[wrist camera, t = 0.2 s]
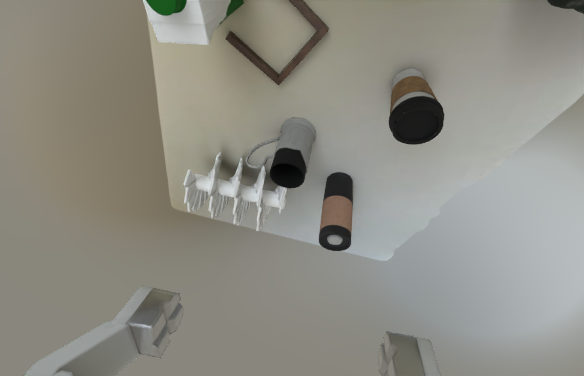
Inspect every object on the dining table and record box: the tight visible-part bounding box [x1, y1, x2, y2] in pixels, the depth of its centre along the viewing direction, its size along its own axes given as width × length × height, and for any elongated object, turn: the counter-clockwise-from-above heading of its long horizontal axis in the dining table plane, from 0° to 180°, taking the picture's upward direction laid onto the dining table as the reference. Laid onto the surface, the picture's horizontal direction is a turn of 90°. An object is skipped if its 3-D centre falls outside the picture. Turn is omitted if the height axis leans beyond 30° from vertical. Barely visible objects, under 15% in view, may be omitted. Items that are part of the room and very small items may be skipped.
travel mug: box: [319, 173, 353, 251], centre depth 71 cm, size 8×8×20 cm
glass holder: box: [246, 118, 316, 188], centre depth 64 cm, size 9×14×15 cm, turn 89°
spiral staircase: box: [183, 152, 287, 231], centre depth 76 cm, size 18×18×25 cm
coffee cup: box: [389, 69, 444, 144], centre depth 50 cm, size 8×8×15 cm
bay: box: [226, 0, 329, 85], centre depth 52 cm, size 14×13×2 cm
